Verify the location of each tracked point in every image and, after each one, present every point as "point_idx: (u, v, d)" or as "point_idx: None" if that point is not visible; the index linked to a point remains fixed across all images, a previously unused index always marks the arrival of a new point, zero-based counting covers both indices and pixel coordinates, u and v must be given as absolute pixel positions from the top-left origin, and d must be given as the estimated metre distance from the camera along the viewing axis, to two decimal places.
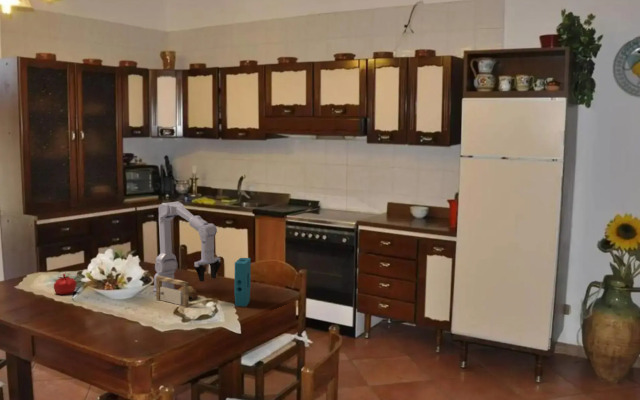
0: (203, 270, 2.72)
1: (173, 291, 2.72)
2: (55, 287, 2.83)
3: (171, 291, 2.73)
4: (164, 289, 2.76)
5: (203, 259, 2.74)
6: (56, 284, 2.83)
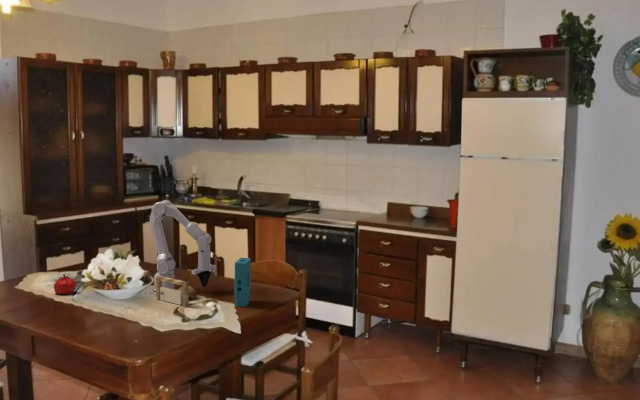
0: (205, 276, 2.89)
1: (173, 291, 2.72)
2: (55, 287, 2.83)
3: (171, 291, 2.73)
4: (164, 289, 2.76)
5: (200, 267, 2.88)
6: (56, 284, 2.83)
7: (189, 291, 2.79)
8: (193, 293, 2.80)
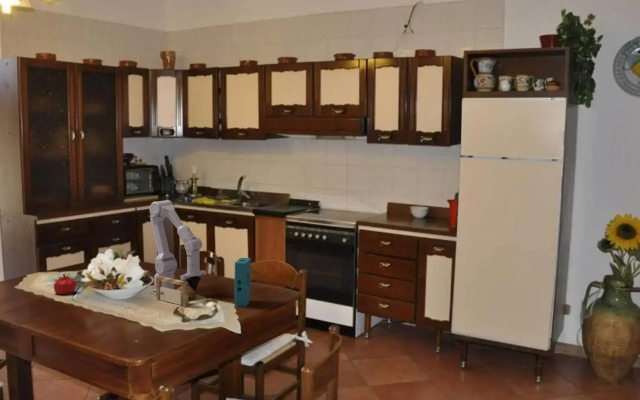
0: (194, 282, 2.83)
1: (173, 291, 2.72)
2: (55, 287, 2.83)
3: (171, 291, 2.73)
4: (164, 289, 2.76)
5: (189, 272, 2.83)
6: (56, 284, 2.83)
7: (188, 291, 2.79)
8: (192, 293, 2.79)
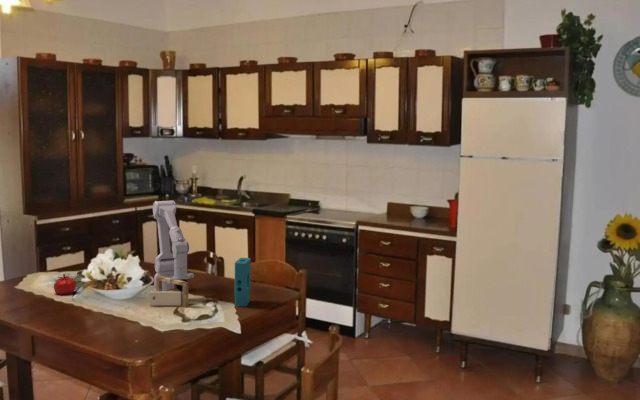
0: None
1: (170, 293, 2.69)
2: (55, 287, 2.83)
3: (167, 293, 2.69)
4: (156, 293, 2.68)
5: (176, 275, 2.76)
6: (56, 284, 2.83)
7: None
8: None
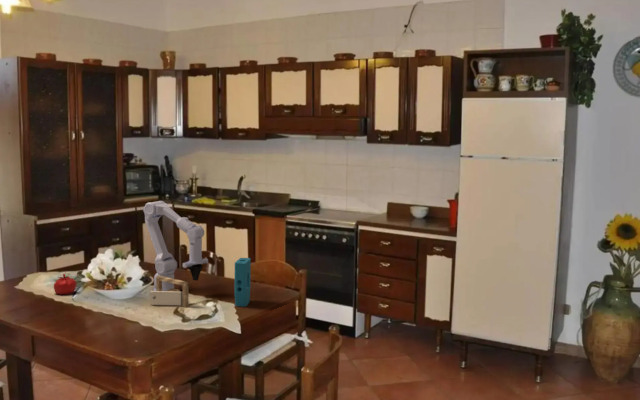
0: (196, 269, 2.84)
1: (170, 293, 2.69)
2: (55, 287, 2.83)
3: (167, 293, 2.69)
4: (156, 293, 2.69)
5: (191, 260, 2.83)
6: (56, 284, 2.83)
7: None
8: None
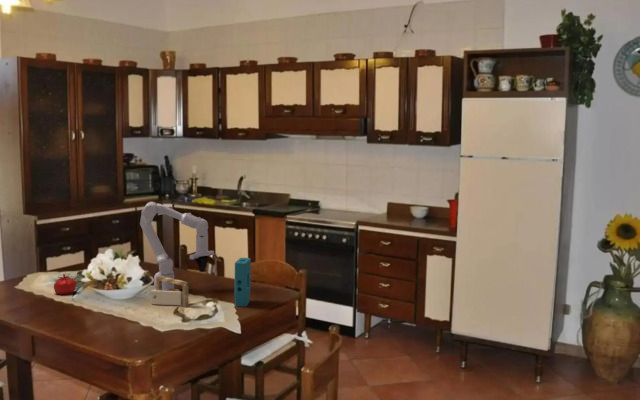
0: (203, 261, 2.93)
1: (170, 293, 2.70)
2: (55, 287, 2.83)
3: (167, 293, 2.70)
4: (157, 292, 2.70)
5: (198, 252, 2.93)
6: (56, 284, 2.83)
7: None
8: None
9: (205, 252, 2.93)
